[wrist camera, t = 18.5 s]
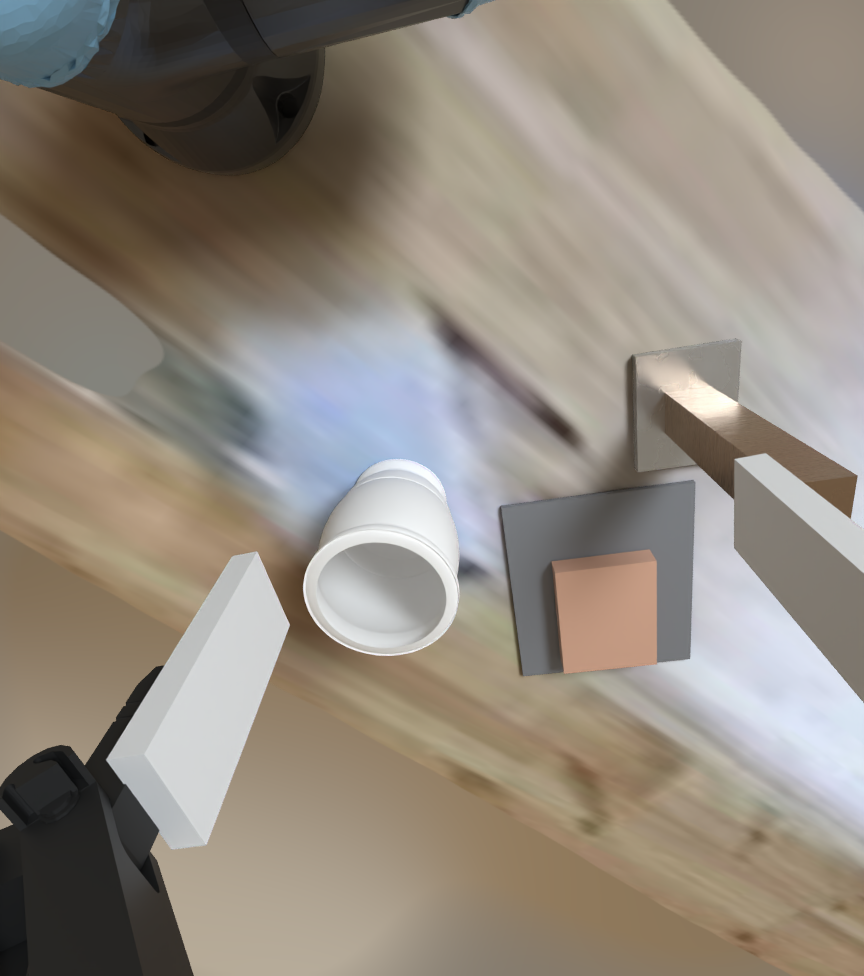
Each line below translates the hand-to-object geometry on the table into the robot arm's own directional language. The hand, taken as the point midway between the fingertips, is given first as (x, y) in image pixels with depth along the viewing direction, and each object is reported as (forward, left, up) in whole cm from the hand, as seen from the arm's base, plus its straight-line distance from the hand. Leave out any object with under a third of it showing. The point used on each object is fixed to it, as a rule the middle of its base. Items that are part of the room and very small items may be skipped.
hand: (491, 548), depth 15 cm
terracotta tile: (+21, +10, -31) cm, 39 cm away
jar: (+13, -8, -33) cm, 36 cm away
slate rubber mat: (+25, +10, -32) cm, 42 cm away
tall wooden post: (+8, +17, -32) cm, 38 cm away
